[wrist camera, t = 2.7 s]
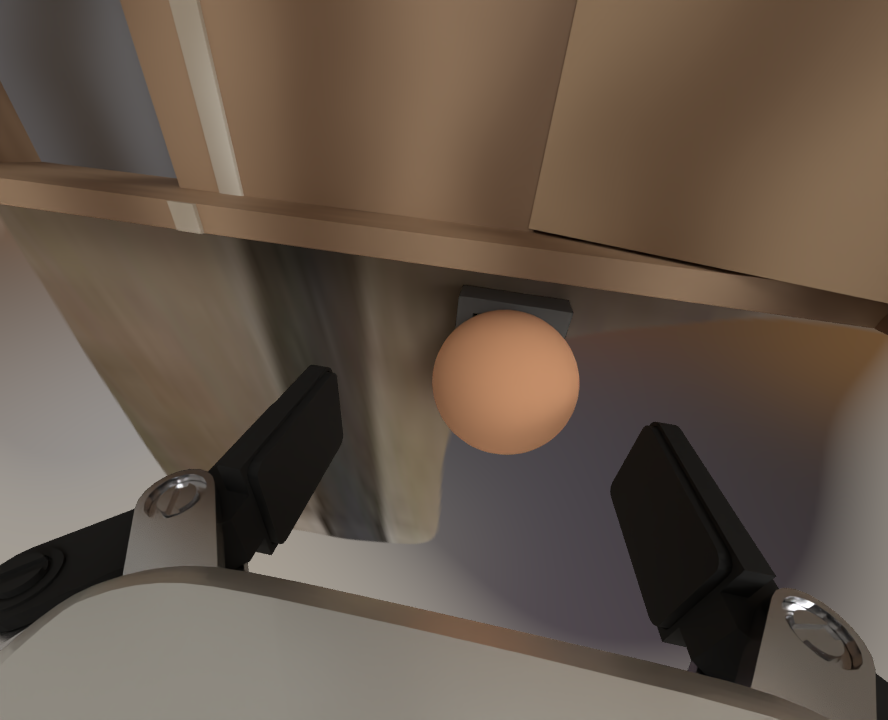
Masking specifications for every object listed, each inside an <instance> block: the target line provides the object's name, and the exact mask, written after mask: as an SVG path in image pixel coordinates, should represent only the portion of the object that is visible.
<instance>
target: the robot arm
mask: <svg viewBox="0 0 888 720" xmlns="http://www.w3.org/2000/svg"><path fill="white" fill-rule="evenodd" d="M342 439H343V429H342V420H341V411H340V401H339V392H338V383H337V375H336V374H335V373H332V370H331V368H329V367H323V366H317V365H310V366H309V367H308V368H307V369H306V370H305V371H304V372H303V373H302V374H301V375H300V376H299V377H298V379H297V380H296V381H295V382H294V383H293V384H292V385H291V386H290V387H289V388H288V389H287V390H286V391H285V392H284V393H283V394H282V396H281V397H280V398H279V399H278V400H277V401H276V402H275V403H273V404H272V405H271V406H270V407H269V408H268V409H267V410H266V411H265V412H264V413H263V414H262V415H261V416H260V417H259V419H258V420H257V421H256V422H255V423H254V424H253V425H252V426H251V427H250V428H249V429H248V430H247V431H246V432H245V433H244V434H243V435H242V436H241V438H240V439H239V440H238V441H237V442H236V443H235V444H234V445H233V446H232V447H231V448H230V449H229V450H228V451H227V452H226V453H225V454H224V455H223V457H222V458H221V459H220V460H219V461H218V462H217V463H216V464H215V465H214V466H213V467H212V468H211V469H210V470H209V471H208V472H207V471H204V470H201V469H188V470H183V471H178V472H176V473H173V474H171V475H168V476H166V477H164V478H162V479H161V480H159V481H157V482H156V483H154V484H153V485H152V486H151V487H149V488H148V489H147V490H146V491H145V492H144V493H143V494H142V496H141V497H140V498H139V500H138V502H137V504H136V507H135V509H133V510H130V511H128V512H125V513H122V514H120V515H117V516H114V517H112V518H109V519H107V520H104V521H101V522H99V523H96V524H93V525H91V526H88V527H85V528H83V529H80V530H78V531H75V532H72V533H70V534H67V535H64V536H62V537H59V538H56V539H54V540H51V541H49V542H46V543H44V544H41V545H38V546H36V547H33V548H31V549H29V550H26V551H24V552H22V553H20V554H18V555H16V556H14V557H13V558H11V559H9V560H8V561H6V562H5V563H3V564H1V565H0V720H888V682H886V681H885V680H884V679H883V678H881V677H880V676H879V675H877V674H876V672H875V666H874V662H873V658H872V656H871V654H870V652H869V650H868V649H867V647H866V645H865V643H864V642H863V641H862V639H861V638H860V637H859V636H858V634H857V633H856V632H855V631H854V629H853V628H852V627H851V626H850V625H849V624H848V623H847V622H846V621H845V620H844V619H843V618H842V617H840V616H839V615H838V614H837V613H836V612H835V611H833V610H832V609H831V608H829V607H828V606H827V605H825V604H824V603H822V602H821V601H819V600H817V599H816V598H814V597H812V596H810V595H809V594H806V593H804V592H801V591H798V590H796V589H790V588H781V589H779V588H778V587H777V585H776V584H775V582H774V580H773V579H774V578H775V577H776V575H775V574H774V572H773V571H772V569H771V568H770V566H769V564H768V563H767V561H766V560H765V558H764V557H763V555H762V554H761V552H760V551H759V549H758V548H757V546H756V544H755V543H754V541H753V540H752V538H751V537H750V535H749V534H748V532H747V531H746V529H745V528H744V526H743V525H742V523H741V521H740V520H739V518H738V517H737V515H736V514H735V512H734V511H733V509H732V508H731V506H730V504H729V503H728V501H727V500H726V498H725V497H724V495H723V494H722V492H721V491H720V489H719V488H718V486H717V485H716V483H715V481H714V480H713V478H712V477H711V475H710V474H709V472H708V471H707V469H706V467H705V466H704V464H703V463H702V461H701V460H700V458H699V457H698V455H697V454H696V452H695V451H694V449H693V447H692V446H691V444H690V443H689V441H688V440H687V438H686V437H685V435H684V434H683V432H682V431H681V429H680V428H679V427H678V426H676V425H672V424H665V423H660V422H653V423H651V424H650V426H645V427H644V428H643V429H642V431H641V433H640V434H639V436H638V438H637V440H636V442H635V443H634V445H633V447H632V449H631V450H630V452H629V454H628V456H627V458H626V459H625V461H624V463H623V465H622V466H621V468H620V470H619V472H618V474H617V475H616V477H615V479H614V481H613V482H612V485H611V491H610V492H611V498H612V501H613V504H614V508H615V510H616V514H617V517H618V520H619V523H620V527H621V530H622V533H623V536H624V539H625V543H626V546H627V549H628V552H629V555H630V558H631V562H632V565H633V568H634V571H635V574H636V577H637V581H638V584H639V587H640V590H641V593H642V597H643V600H644V603H645V606H646V609H647V612H648V616H649V618H650V620H651V622H652V623H653V624H654V625H655V626H657V627H658V630H659V633H660V636H661V639H662V642H666V643H670V644H675V645H679V646H684V647H687V650H688V652H689V655H690V658H691V662H690V664H689V667H688V670H687V671H685V670H681V669H677V668H673V667H669V666H665V665H661V664H657V663H653V662H649V661H645V660H640V659H636V658H632V657H628V656H623V655H619V654H615V653H610V652H606V651H602V650H597V649H593V648H589V647H585V646H580V645H576V644H571V643H567V642H563V641H559V640H554V639H550V638H546V637H542V636H537V635H533V634H528V633H524V632H520V631H515V630H511V629H507V628H502V627H498V626H493V625H489V624H485V623H480V622H476V621H471V620H467V619H463V618H458V617H454V616H449V615H445V614H440V613H436V612H432V611H427V610H423V609H418V608H414V607H410V606H405V605H401V604H396V603H391V602H387V601H383V600H378V599H373V598H369V597H364V596H360V595H356V594H351V593H346V592H342V591H337V590H333V589H328V588H323V587H319V586H315V585H310V584H306V583H301V582H296V581H290V580H286V579H281V578H276V577H271V576H266V575H261V574H256V573H251V572H249V571H248V562H249V561H250V560H251V559H252V557H253V555H254V554H255V552H260V553H264V554H268V555H272V554H273V552H274V550H275V548H276V547H277V545H278V544H283V543H284V542H285V541H286V539H287V538H288V536H289V534H290V533H291V531H292V529H293V528H294V526H295V524H296V522H297V521H298V519H299V517H300V515H301V514H302V512H303V510H304V508H305V507H306V505H307V503H308V501H309V500H310V498H311V496H312V494H313V493H314V491H315V489H316V487H317V486H318V484H319V482H320V480H321V479H322V477H323V475H324V473H325V472H326V470H327V468H328V466H329V465H330V463H331V461H332V459H333V458H334V456H335V454H336V452H337V451H338V449H339V447H340V445H341V443H342Z"/></svg>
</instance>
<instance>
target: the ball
mask: <svg viewBox="0 0 888 720" xmlns="http://www.w3.org/2000/svg"><path fill="white" fill-rule="evenodd" d="M432 387H433V394H434V399H435V402H436V405H437V408H438V410H439V412H440V414H441V417H442V418H443V420H444V421H445V423H446V424H447V425H448V427H449V428H450V429H451V430H452V431H453V433H455V434H456V435H457V436H458V437H459V438H460V439H462V440H463V441H465V442H466V443H468V444H469V445H471V446H473V447H475V448H477V449H480V450H482V451H485V452H489V453H494V454H504V455H508V454H509V455H510V454H520V453H525V452H528V451H531V450H534V449H536V448H538V447H540V446H542V445H544V444H546V443H547V442H549V441H550V440H551V439H553V438H554V437H555V436H556V435H557V434H558V433H559V432H560V431H561V430H562V429H563V428H564V426H565V425H566V424H567V422H568V420H569V419H570V417H571V415H572V413H573V411H574V409H575V406H576V402H577V399H578V393H579V373H578V368H577V363H576V360H575V358H574V355H573V353H572V350H571V349H570V347H569V345H568V344H567V342H566V341H565V340H564V338H563V337H562V336H561V335H560V333H559V332H558V331H557V330H556V329H554V328H553V327H552V326H551V325H549V324H548V323H546V322H545V321H543V320H542V319H540V318H538V317H536V316H534V315H531V314H528V313H525V312H521V311H516V310H495V311H489V312H485V313H482V314H479V315H477V316H474V317H472V318H470V319H469V320H467V321H465V322H463V323H462V324H461V325H460V326H458V327H457V328H456V329H455V330H454V331H453V332H452V333H451V334H450V335H449V336H448V337H447V339H446V340H445V342H444V343H443V345H442V347H441V349H440V351H439V353H438V355H437V358H436V361H435V364H434V369H433V379H432Z"/></svg>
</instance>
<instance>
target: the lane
mask: <svg viewBox="0 0 888 720" xmlns="http://www.w3.org/2000/svg"><path fill="white" fill-rule="evenodd" d="M0 204H3V205H10V206H17V207H24V208H31V209H38V210H45V211H52V212H59V213H66V214H73V215H81V216H88V217H95V218H102V219H109V220H116V221H123V222H130V223H137V224H144V225H151V226H158V227H165V228H172V229H177V231H184V232H191V233H198V234H203V233H207V234H214V235H221V236H228V237H235V238H242V239H249V240H256V241H263V242H271V243H278V244H285V245H292V246H299V247H306V248H313V249H320V250H327V251H334V252H341V253H348V254H355V255H362V256H369V257H376V258H383V259H390V260H397V261H404V262H411V263H418V264H425V265H432V266H439V267H446V268H453V269H460V270H468V271H475V272H482V273H489V274H496V275H503V276H510V277H517V278H524V279H531V280H538V281H545V282H552V283H559V284H566V285H573V286H580V287H587V288H594V289H601V290H608V291H615V292H622V293H629V294H636V295H643V296H650V297H657V298H665V299H672V300H679V301H686V302H693V303H700V304H707V305H714V306H721V307H728V308H735V309H742V310H749V311H756V312H763V313H770V314H777V315H784V316H791V317H798V318H805V319H812V320H819V321H826V322H833V323H840V324H847V325H855V326H862V327H869V328H875V329H877V330H879V331H881V332H883V333H885V334H887V335H888V0H0Z"/></svg>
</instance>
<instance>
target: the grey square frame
mask: <svg viewBox="0 0 888 720" xmlns="http://www.w3.org/2000/svg"><path fill="white" fill-rule="evenodd" d="M495 310H516V311H521V312H525V313H528V314H531V315H534V316H536V317H538V318H540V319H542V320H543V321H545V322H546V323H548V324H549V325H551V326H552V327H553V328H554V329H556V330H557V331H558V332H559V333H560V335H561V336H562V337H563V338H564V340H565V337H566V334H567V331H568V328H569V325H570V322H571V319H572V316H573V311H572V308H571V305H570V302H569V300H562V299H555V298H548V297H542V296H535V295H528V294H521V293H514V292H508V291H501V290H494V289H487V288H480V287H474V286H467V285H463V287H462V290H461V292H460V295H459V301H458V310H457V318H456V327H455V329H456V328H457V327H458V326H460V325H461V324H462V323H463V322H465V321H467V320H469V319H470V318H472V317H474V313H477V314H482V313H485V312H489V311H495Z"/></svg>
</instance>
